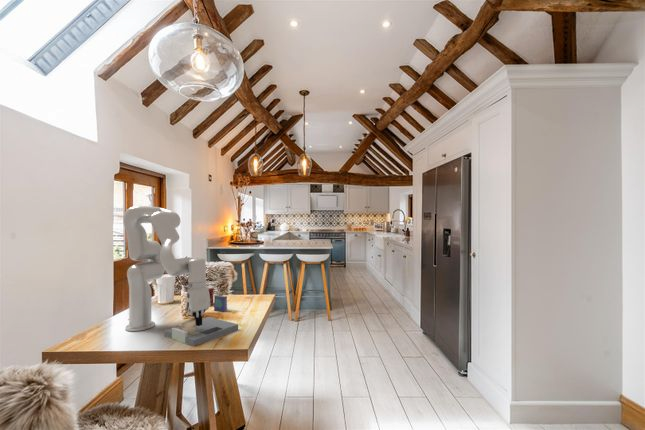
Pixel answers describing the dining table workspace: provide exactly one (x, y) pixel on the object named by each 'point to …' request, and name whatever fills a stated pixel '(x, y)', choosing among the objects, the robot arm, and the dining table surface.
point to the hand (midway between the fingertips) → (198, 325)
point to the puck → (189, 325)
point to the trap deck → (202, 331)
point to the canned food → (210, 294)
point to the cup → (165, 289)
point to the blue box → (220, 302)
